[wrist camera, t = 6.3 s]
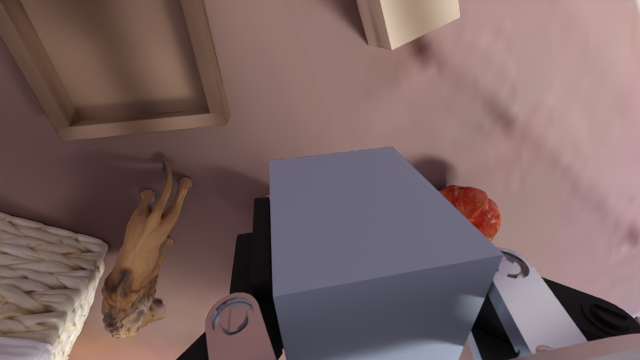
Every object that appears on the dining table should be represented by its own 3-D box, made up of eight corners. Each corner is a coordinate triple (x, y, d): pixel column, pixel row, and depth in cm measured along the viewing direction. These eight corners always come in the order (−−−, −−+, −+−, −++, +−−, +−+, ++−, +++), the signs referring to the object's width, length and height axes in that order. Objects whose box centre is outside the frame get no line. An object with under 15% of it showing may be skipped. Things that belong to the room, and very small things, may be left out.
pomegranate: (461, 162, 33) (430, 185, 26) (523, 196, 30) (506, 231, 23) (432, 207, 37) (399, 236, 30) (484, 240, 34) (460, 282, 27)
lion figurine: (182, 270, 31) (155, 349, 24) (130, 265, 30) (84, 349, 22) (197, 160, 25) (167, 220, 17) (132, 147, 24) (68, 206, 16)
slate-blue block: (392, 146, 11) (503, 254, 6) (382, 237, 13) (454, 368, 8) (269, 160, 10) (273, 297, 5) (283, 253, 13) (296, 405, 8)
